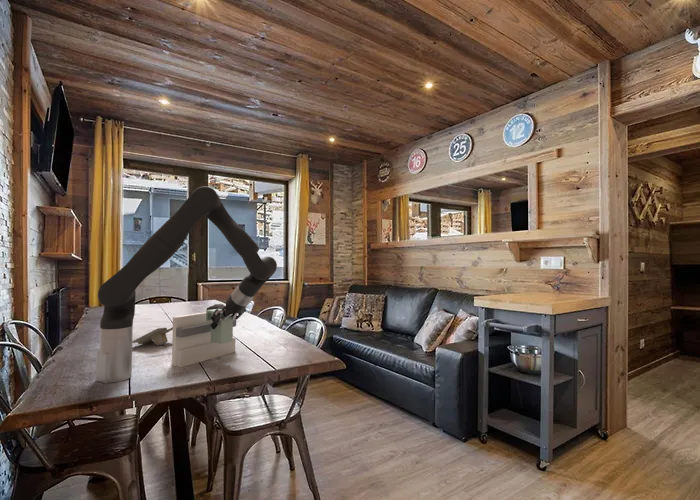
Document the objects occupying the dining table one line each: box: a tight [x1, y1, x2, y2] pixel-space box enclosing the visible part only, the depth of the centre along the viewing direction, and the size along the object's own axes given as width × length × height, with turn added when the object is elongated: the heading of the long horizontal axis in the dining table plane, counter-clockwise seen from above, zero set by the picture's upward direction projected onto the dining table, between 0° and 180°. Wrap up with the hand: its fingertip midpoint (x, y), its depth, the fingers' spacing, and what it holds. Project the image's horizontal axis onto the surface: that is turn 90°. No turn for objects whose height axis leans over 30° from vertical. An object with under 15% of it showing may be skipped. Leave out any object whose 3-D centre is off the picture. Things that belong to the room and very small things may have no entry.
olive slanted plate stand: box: [132, 326, 173, 346], centre depth 166 cm, size 16×9×15 cm
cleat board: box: [171, 311, 237, 368], centre depth 147 cm, size 26×6×18 cm, turn 150°
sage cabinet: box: [206, 309, 234, 344], centre depth 143 cm, size 6×9×12 cm, turn 60°
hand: (218, 326), depth 143 cm, fingers closed on sage cabinet, 5 cm apart
